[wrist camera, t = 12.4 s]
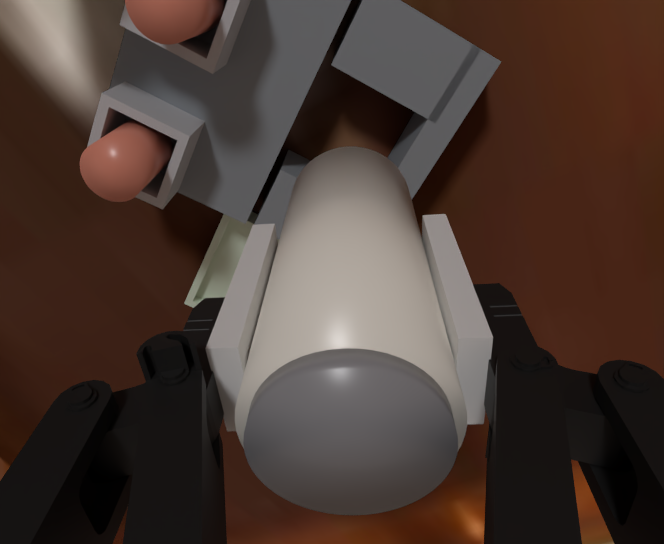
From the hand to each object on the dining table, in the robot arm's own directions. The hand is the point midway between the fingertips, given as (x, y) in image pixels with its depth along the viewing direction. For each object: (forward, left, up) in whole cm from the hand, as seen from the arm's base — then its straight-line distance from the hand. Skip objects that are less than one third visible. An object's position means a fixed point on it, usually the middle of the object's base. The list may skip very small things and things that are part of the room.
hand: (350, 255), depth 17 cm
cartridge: (0, 0, -4) cm, 4 cm away
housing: (-4, 0, -17) cm, 18 cm away
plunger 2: (-10, +3, -12) cm, 16 cm away
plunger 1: (-10, -5, -12) cm, 16 cm away
